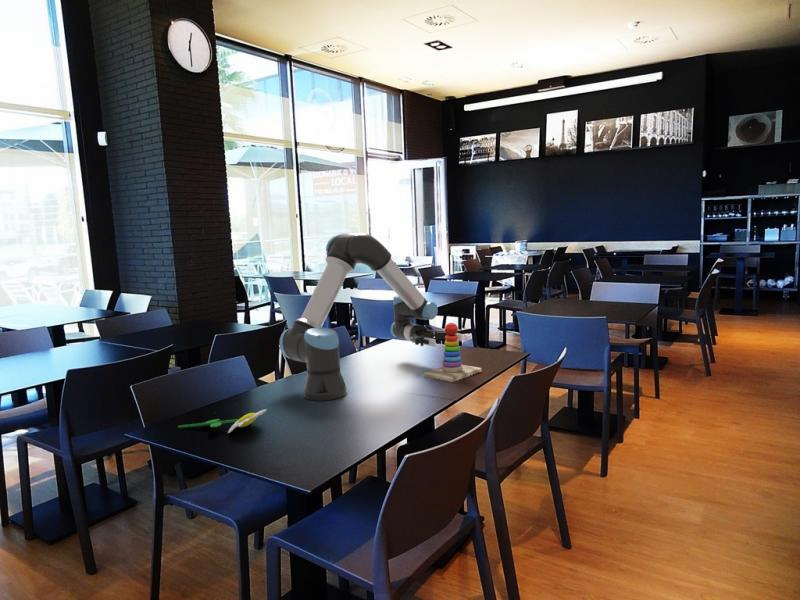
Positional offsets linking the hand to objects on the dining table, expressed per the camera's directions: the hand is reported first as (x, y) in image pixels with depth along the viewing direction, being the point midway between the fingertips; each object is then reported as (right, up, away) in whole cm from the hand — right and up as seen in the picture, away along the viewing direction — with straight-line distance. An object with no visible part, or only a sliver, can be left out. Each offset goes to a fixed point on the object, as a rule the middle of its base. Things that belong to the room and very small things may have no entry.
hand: (448, 340), depth 216 cm
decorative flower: (-73, -24, -49) cm, 91 cm away
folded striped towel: (+2, -13, 0) cm, 13 cm away
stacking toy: (+1, -12, -1) cm, 12 cm away
